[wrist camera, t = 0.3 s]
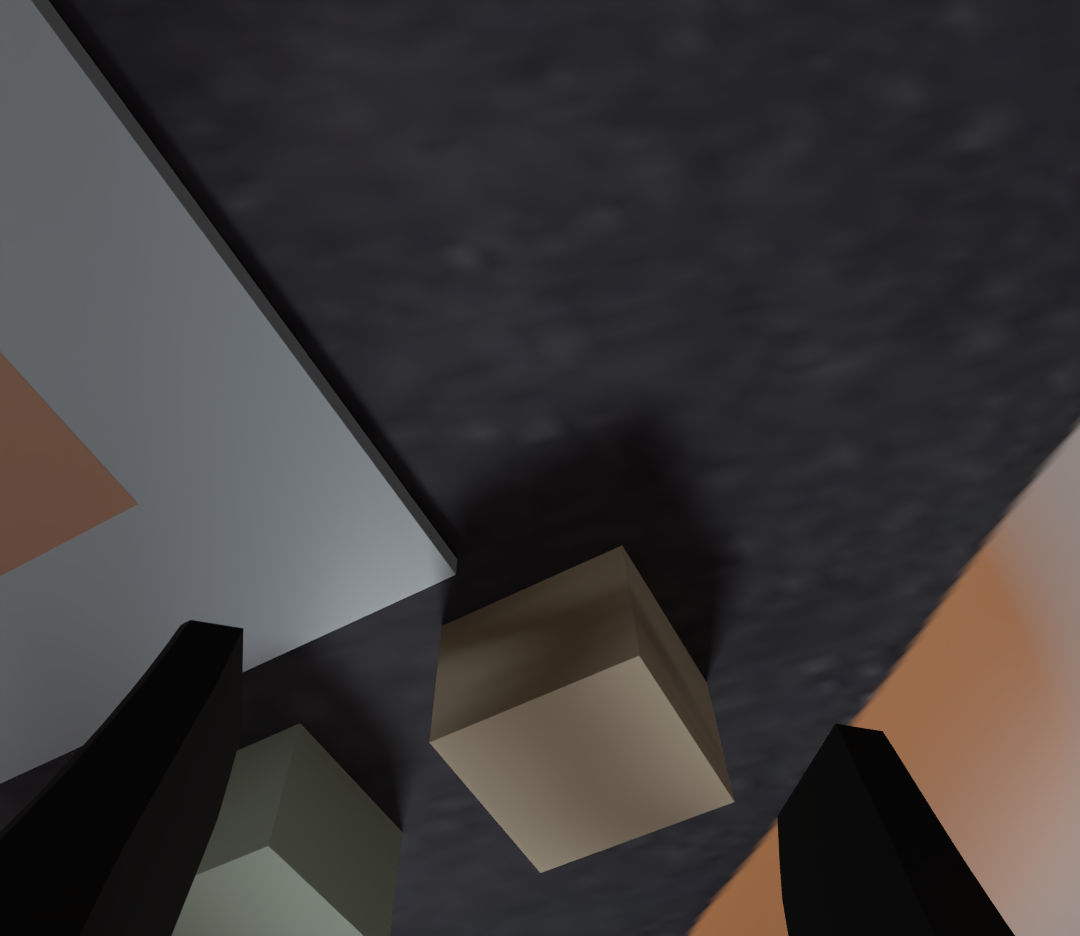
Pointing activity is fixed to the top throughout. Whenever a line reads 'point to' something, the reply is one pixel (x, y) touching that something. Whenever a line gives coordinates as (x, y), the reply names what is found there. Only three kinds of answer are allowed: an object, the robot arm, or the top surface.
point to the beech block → (577, 714)
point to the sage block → (294, 850)
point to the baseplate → (155, 423)
